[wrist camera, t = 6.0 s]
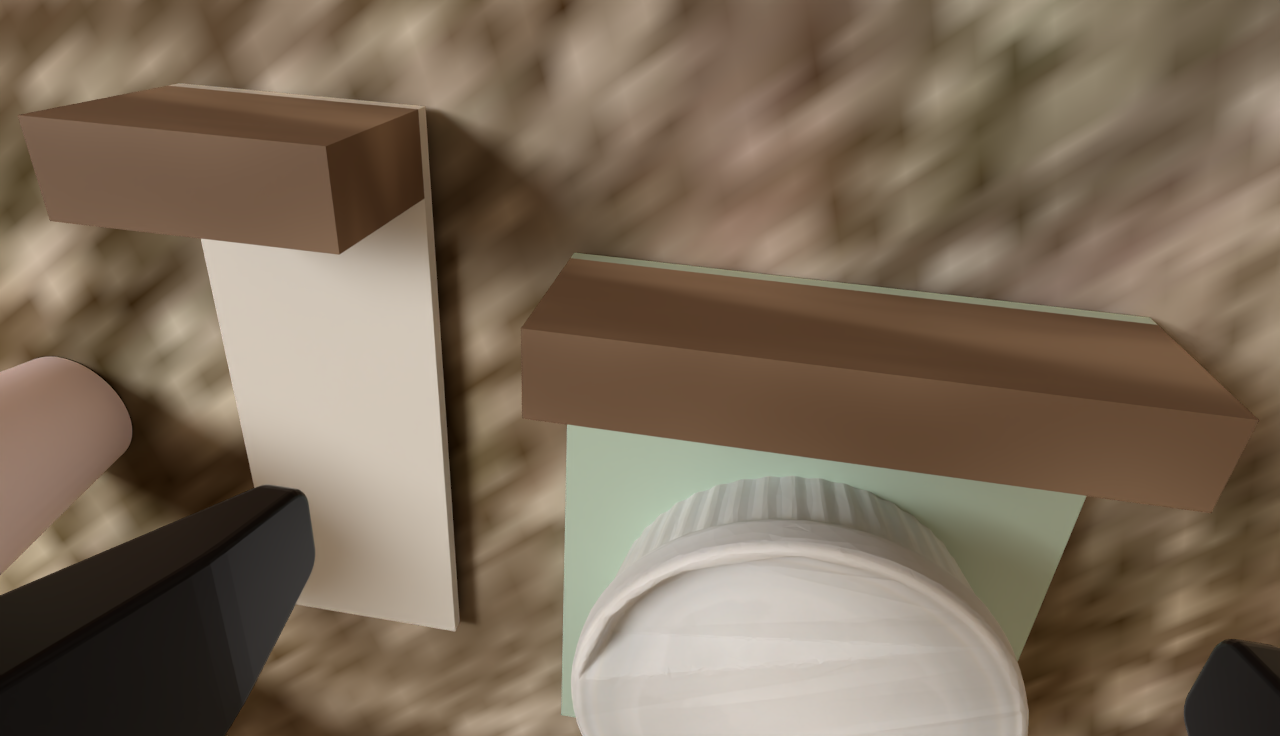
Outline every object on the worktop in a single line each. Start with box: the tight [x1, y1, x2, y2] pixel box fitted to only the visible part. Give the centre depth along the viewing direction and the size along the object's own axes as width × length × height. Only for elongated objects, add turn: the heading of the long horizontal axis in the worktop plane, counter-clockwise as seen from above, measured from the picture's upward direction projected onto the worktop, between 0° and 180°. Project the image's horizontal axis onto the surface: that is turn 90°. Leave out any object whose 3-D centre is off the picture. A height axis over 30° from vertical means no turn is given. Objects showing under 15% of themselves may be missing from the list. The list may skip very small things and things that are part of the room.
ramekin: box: [571, 476, 1029, 736], centre depth 21 cm, size 11×11×5 cm
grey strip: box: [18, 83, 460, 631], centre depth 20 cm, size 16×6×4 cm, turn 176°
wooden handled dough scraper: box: [521, 253, 1259, 718], centre depth 20 cm, size 16×13×4 cm
